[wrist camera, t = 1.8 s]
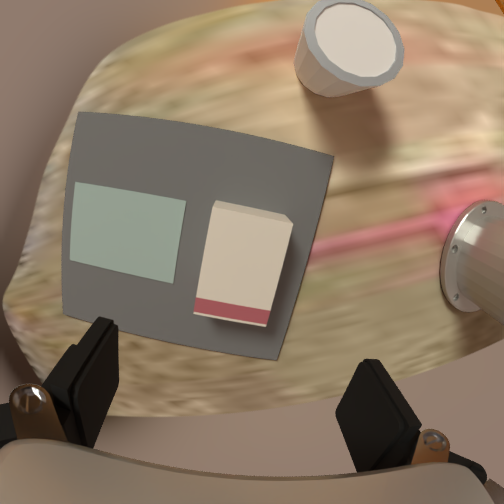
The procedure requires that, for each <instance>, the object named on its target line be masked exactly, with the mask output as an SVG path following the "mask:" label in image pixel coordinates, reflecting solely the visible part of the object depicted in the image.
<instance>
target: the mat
mask: <svg viewBox="0 0 504 504" xmlns="http://www.w3.org/2000/svg"><path fill="white" fill-rule="evenodd" d="M333 159H334V156H331V155H328V154H324V153H321V152H317V151H314V150H310V149H306V148H303V147H299V146H295V145H291V144H287V143H283V142H279V141H275V140H271V139H267V138H262V137H258V136H253V135H249V134H244V133H239V132H234V131H229V130H224V129H219V128H214V127H208V126H202V125H196V124H190V123H184V122H177V121H170V120H163V119H156V118H147V117H139V116H129V115H119V114H107V113H93V112H78V116H77V120H76V125H75V130H74V136H73V141H72V147H71V153H70V159H69V166H68V174H67V182H66V191H65V201H64V213H63V229H62V301H63V314H65V315H68V316H71V317H75V318H78V319H81V320H85V321H88V322H91V323H94V321H95V320H96V319H97V318H98V317H99V316H101V317H104V318H108V319H112V320H114V324H116V325H118V330H121V331H124V332H128V333H132V334H136V335H141V336H145V337H149V338H153V339H158V340H162V341H167V342H171V343H176V344H181V345H186V346H191V347H196V348H201V349H207V350H212V351H218V352H224V353H230V354H236V355H242V356H249V357H256V358H263V359H271V360H277V358H278V355H279V352H280V349H281V345H282V342H283V339H284V336H285V333H286V330H287V327H288V324H289V320H290V317H291V314H292V311H293V307H294V304H295V301H296V297H297V294H298V291H299V287H300V284H301V281H302V277H303V274H304V270H305V267H306V263H307V260H308V256H309V252H310V249H311V245H312V242H313V238H314V234H315V230H316V227H317V223H318V219H319V215H320V211H321V208H322V204H323V200H324V196H325V192H326V188H327V184H328V180H329V175H330V171H331V167H332V163H333ZM216 200H217V201H222V202H227V203H232V204H237V205H242V206H247V207H251V208H256V209H261V210H265V211H270V212H275V213H279V214H284V215H286V216H287V218H288V219H289V220H290V221H291V222H292V223H293V227H292V231H291V235H290V239H289V243H288V247H287V250H286V254H285V258H284V262H283V266H282V270H281V273H280V277H279V281H278V284H277V288H276V292H275V296H274V299H273V303H272V306H271V310H270V314H269V318H268V321H267V325H266V327H264V326H258V325H252V324H246V323H240V322H234V321H229V320H223V319H218V318H212V317H207V316H202V315H197V314H193V313H194V305H195V299H196V294H197V288H198V282H199V277H200V271H201V265H202V260H203V254H204V249H205V243H206V238H207V233H208V227H209V222H210V217H211V212H212V207H213V205H214V203H215V201H216Z"/></svg>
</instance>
